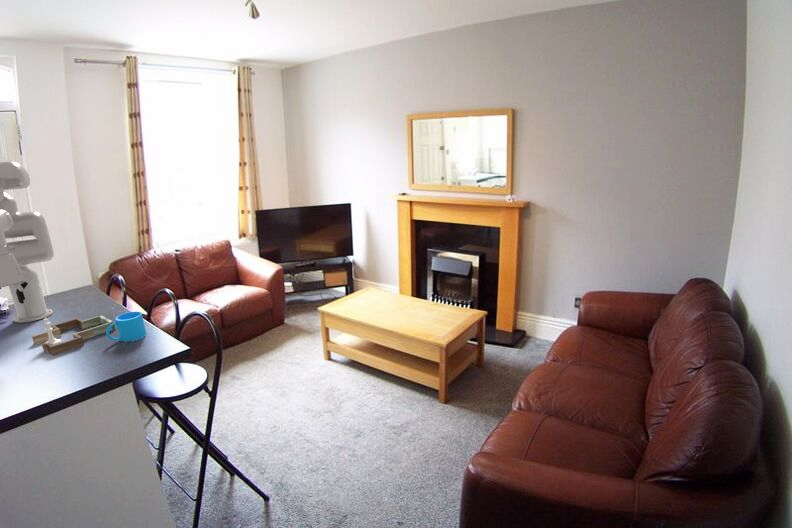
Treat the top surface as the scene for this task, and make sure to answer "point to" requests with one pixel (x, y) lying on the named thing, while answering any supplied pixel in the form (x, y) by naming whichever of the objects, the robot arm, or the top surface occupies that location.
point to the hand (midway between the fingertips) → (10, 305)
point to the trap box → (77, 336)
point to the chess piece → (50, 335)
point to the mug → (128, 326)
